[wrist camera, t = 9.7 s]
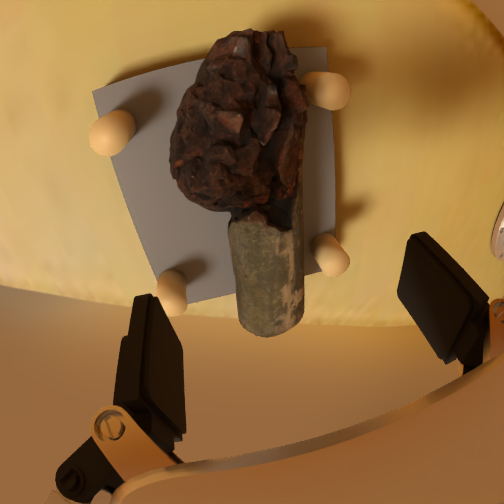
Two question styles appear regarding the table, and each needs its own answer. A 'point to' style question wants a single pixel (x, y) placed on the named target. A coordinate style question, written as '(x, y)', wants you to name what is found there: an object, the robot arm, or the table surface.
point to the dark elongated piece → (250, 169)
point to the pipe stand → (191, 214)
